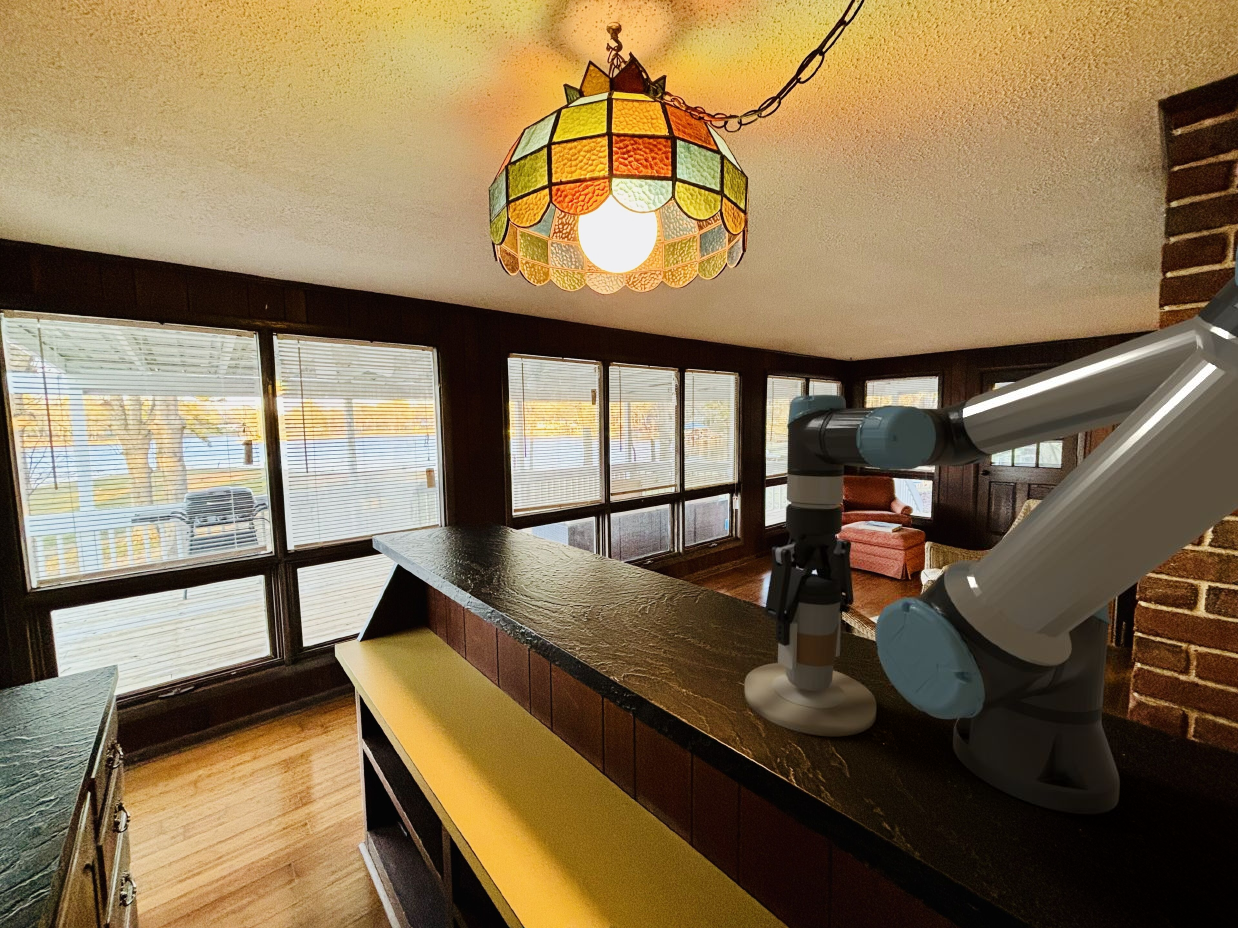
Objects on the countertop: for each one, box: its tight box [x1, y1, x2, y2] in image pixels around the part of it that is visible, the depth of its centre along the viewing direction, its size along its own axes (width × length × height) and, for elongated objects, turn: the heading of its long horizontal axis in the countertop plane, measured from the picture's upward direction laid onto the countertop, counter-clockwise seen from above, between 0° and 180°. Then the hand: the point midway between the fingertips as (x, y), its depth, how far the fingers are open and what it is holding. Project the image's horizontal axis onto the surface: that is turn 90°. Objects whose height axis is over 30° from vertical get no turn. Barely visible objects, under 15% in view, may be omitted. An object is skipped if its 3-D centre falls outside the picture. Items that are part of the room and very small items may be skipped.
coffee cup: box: [785, 573, 842, 691], centre depth 75 cm, size 8×8×15 cm
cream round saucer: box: [744, 662, 877, 737], centre depth 76 cm, size 18×18×2 cm
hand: (809, 658), depth 75 cm, fingers closed on coffee cup, 8 cm apart
